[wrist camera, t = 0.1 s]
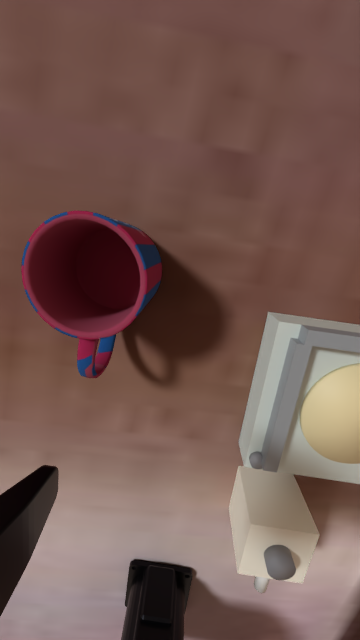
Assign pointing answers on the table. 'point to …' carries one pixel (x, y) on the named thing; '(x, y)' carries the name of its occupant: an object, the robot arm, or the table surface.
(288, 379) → the grey tray
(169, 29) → the table surface
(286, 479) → the spout can
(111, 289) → the mug
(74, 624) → the table surface
